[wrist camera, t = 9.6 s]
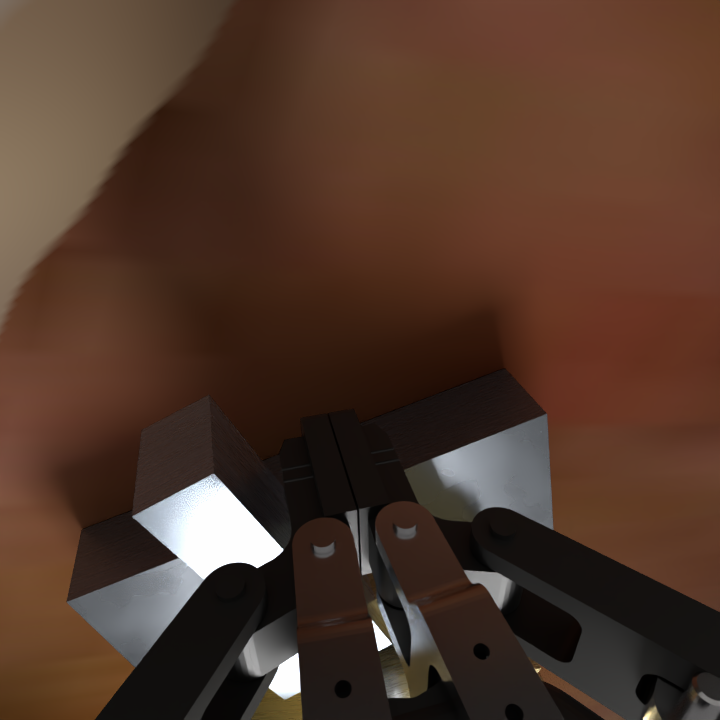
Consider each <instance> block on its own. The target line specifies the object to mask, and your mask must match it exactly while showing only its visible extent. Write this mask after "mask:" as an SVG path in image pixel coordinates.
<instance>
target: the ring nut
mask: <svg viewBox="0 0 720 720" xmlns="http://www.w3.org/2000/svg"><path fill="white" fill-rule="evenodd" d="M132 517H133V518H134V519H135V520H137V521H138V522H139V523H140V524H141V525H142V526H143V527H145V528H146V529H147V530H148V531H149V532H150V533H151V534H153V535H154V536H155V537H156V538H157V539H158V540H159V541H161V542H162V543H163V544H164V545H165V546H166V547H167V548H169V549H170V550H171V551H172V552H173V553H174V554H175V555H177V556H178V557H179V558H180V559H181V560H182V561H183V562H185V563H186V564H187V565H188V566H189V567H190V568H191V569H193V570H194V571H195V572H196V573H197V574H198V575H199V576H201V577H202V578H203V579H205V578H206V577H207V576H208V575H209V574H210V573H211V572H212V571H214V570H215V569H217V568H218V567H221V566H223V565H225V564H228V563H234V562H244V563H248V564H251V565H253V566H255V567H256V568H258V567H259V566H261V565H263V564H265V563H267V562H269V561H270V560H272V559H274V558H275V557H277V556H278V555H279V554H280V553H281V552H282V551H283V550H284V549H285V547H286V546H287V544H288V542H289V540H290V537H291V528H290V522H289V516H288V510H287V504H286V498H285V492H284V487H283V486H282V485H281V484H280V482H279V481H278V480H277V479H276V477H275V476H274V475H273V474H272V472H271V471H270V470H269V469H268V467H267V466H266V465H265V464H264V462H263V461H262V460H261V459H260V457H259V456H258V455H257V454H256V452H255V451H254V450H253V449H252V447H251V446H250V445H249V444H248V442H247V441H246V440H245V439H244V437H243V436H242V435H241V434H240V432H239V431H238V430H237V429H236V427H235V426H234V425H233V424H232V422H231V421H230V420H229V419H228V418H227V416H226V415H225V414H224V413H223V411H222V410H221V409H220V408H219V406H218V405H217V404H216V403H215V401H214V400H213V399H212V398H211V396H210V395H207V396H206V397H204V398H202V399H200V400H198V401H196V402H194V403H192V404H190V405H189V406H187V407H185V408H183V409H181V410H179V411H177V412H175V413H173V414H172V415H170V416H168V417H166V418H164V419H162V420H160V421H158V422H156V423H154V424H153V425H151V426H149V427H147V428H145V429H143V430H142V432H141V441H140V450H139V459H138V468H137V477H136V486H135V495H134V504H133V513H132ZM359 568H360V567H359ZM360 573H361V571H360ZM361 579H362V584H363V589H364V594H365V599H366V605H367V610H368V614H369V615H371V618H372V622H373V626H374V631H375V636H376V641H377V646H378V651H379V650H381V649H383V648H385V647H387V646H389V645H391V644H392V643H391V640H390V638H391V637H390V634H389V632H388V629H387V627H386V624H385V621H384V619H383V616H382V614H381V611H380V609H379V606H378V603H377V597H376V584H375V580H374V577H373V574H372V573H369V574H365V575H362V574H361ZM528 658H529V657H528ZM529 660H530V662H531V664H532V665H533V667H534V669H535V670H536V672H537V674H538V675H539V677H540V679H541V680H542V681H544V680H543V678H542V677H541V675H540V673H539V670H540V669H541V668H540V666H539V664H538V663H537V662H535V661H533V660H532V659H530V658H529ZM251 720H303V719H302V705H301V690H300V675H299V660H298V654H296V655H295V656H293V657H292V658H290V659H288V660H287V661H285V662H284V663H282V664H281V665H279V668H278V671H277V673H276V675H275V677H274V679H273V681H272V683H271V684H270V686H269V688H268V690H267V692H266V693H265V695H264V697H263V699H262V700H261V702H260V704H259V706H258V708H257V709H256V711H255V713H254V715H253V716H252V718H251Z"/></svg>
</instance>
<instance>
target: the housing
mask: <svg viewBox="0 0 720 720" xmlns="http://www.w3.org/2000/svg"><path fill="white" fill-rule="evenodd" d="M370 424H376V425H378V426H379V427H380V428H381V429H382V430H383V431H385V432H386V433H387V434H388V436H389V438H390V440H391V443H392V445H393V447H394V450H395V452H396V454H397V456H398V458H399V461H400V463H401V465H402V467H403V469H404V472H405V474H406V476H407V478H408V481H409V483H410V485H411V487H412V490H413V492H414V494H415V496H416V499H417V501H418V502H419V504H420V505H421V506H423V507H424V508H426V509H427V510H428V511H429V512H430V513H431V514H432V515H433V516H435V517H438V518H440V519H444V520H451V521H464V522H472V521H473V519H474V517H475V516H476V515H477V514H478V513H479V512H480V511H482V510H484V509H487V508H491V507H502V508H507V509H511V510H513V511H515V512H517V513H519V514H522V515H524V516H526V517H528V518H530V519H532V520H534V521H536V522H538V523H540V524H542V525H544V526H546V527H548V528H550V529H552V530H553V515H552V497H551V478H550V460H549V442H548V423H547V413H546V412H545V411H544V410H543V409H542V408H541V407H540V406H539V405H538V404H537V402H536V401H535V400H534V399H533V398H532V397H531V396H530V395H529V394H528V393H527V392H526V391H525V389H524V388H523V387H522V386H521V385H520V384H519V383H518V382H517V381H516V380H515V379H514V377H513V376H512V375H511V374H510V373H509V372H508V371H507V370H506V369H502V370H499V371H497V372H494V373H491V374H489V375H486V376H484V377H481V378H478V379H476V380H473V381H470V382H468V383H465V384H463V385H460V386H457V387H455V388H452V389H449V390H447V391H444V392H442V393H439V394H436V395H434V396H431V397H428V398H426V399H423V400H421V401H418V402H415V403H413V404H410V405H407V406H405V407H402V408H400V409H397V410H394V411H392V412H389V413H386V414H384V415H381V416H379V417H376V418H373V419H371V420H368V421H366V422H363V423H360V426H364V425H370ZM263 462H264V464H265V465H266V466H267V467H268V469H269V470H270V471H271V472H272V474H273V475H274V476H275V477H276V479H277V480H278V481H279V482H280V484H281V485H282V486H283V487H284V485H283V478H282V471H281V465H280V458H279V455H276V456H274V457H271V458H268V459H266V460H263ZM132 513H133V510H132V511H129V512H127V513H124V514H122V515H119V516H116V517H114V518H111V519H108V520H106V521H103V522H101V523H98V524H95V525H93V526H90V527H87V528H85V529H82V530H81V535H80V540H79V545H78V550H77V554H76V559H75V564H74V569H73V574H72V578H71V583H70V588H69V593H68V598H67V603H68V604H69V605H70V606H71V607H72V608H73V609H74V610H75V611H76V612H77V613H79V614H80V615H81V616H82V617H83V618H84V619H85V620H86V621H87V622H88V623H89V624H90V625H91V626H92V627H93V628H94V629H95V630H96V631H97V632H98V633H100V634H101V635H102V636H103V637H104V638H105V639H106V640H107V641H108V642H109V643H110V644H111V645H112V646H113V647H114V648H115V649H116V650H117V651H118V652H119V653H121V654H122V655H123V656H124V657H125V658H126V659H127V660H128V661H129V662H130V663H131V664H132V665H133V666H134V667H135V668H136V666H137V665H138V664H139V662H140V661H141V660H142V659H143V657H144V656H145V655H146V654H147V652H148V651H149V650H150V648H151V647H152V646H153V645H154V643H155V642H156V641H157V639H158V638H159V637H160V636H161V634H162V633H163V632H164V630H165V629H166V628H167V627H168V625H169V624H170V623H171V622H172V620H173V619H174V618H175V616H176V615H177V614H178V613H179V611H180V610H181V609H182V607H183V606H184V605H185V604H186V602H187V601H188V600H189V598H190V597H191V596H192V595H193V593H194V592H195V591H196V589H197V588H198V587H199V586H200V584H201V583H202V582H203V581H204V579H203V578H202V577H201V576H199V575H198V574H197V573H196V572H195V571H194V570H193V569H191V568H190V567H189V566H188V565H187V564H186V563H185V562H183V561H182V560H181V559H180V558H179V557H178V556H177V555H175V554H174V553H173V552H172V551H171V550H170V549H169V548H167V547H166V546H165V545H164V544H163V543H162V542H161V541H159V540H158V539H157V538H156V537H155V536H154V535H153V534H151V533H150V532H149V531H148V530H147V529H146V528H145V527H143V526H142V525H141V524H140V523H139V522H138V521H137V520H135V519H134V518H133V517H132ZM390 640H391V643H392V644H391V645H389V646H387V647H385V648H383V649H381V650H379V656H380V661H381V667H382V672H383V677H384V682H385V687H386V692H387V697H388V698H410V694H409V689H408V684H407V680H406V676H405V673H404V670H403V668H402V665H401V663H400V660H399V657H398V655H397V652H396V650H395V647H394V645H393V642H392V639H391V638H390Z"/></svg>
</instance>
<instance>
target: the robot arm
mask: <svg viewBox="0 0 720 720" xmlns="http://www.w3.org/2000/svg"><path fill="white" fill-rule="evenodd" d="M300 422H301V431H302V437H297V438H292V439H286V440H284V443H283V445H282V448H281V450H280V453H279V458H280V465H281V471H282V478H283V485H284V492H285V498H286V504H287V510H288V516H289V522H290V528H291V537H290V540H289V542H288V544H287V546H286V547H285V549H284V550H283V551H282V552H281V553H280V554H279V555H278V556H277V557H275V558H274V559H272V560H270V561H269V562H267V563H265V564H263V565H261V566H259V567H258V568H256V567H255V566H253V565H251V564H248V563H244V562H234V563H228V564H225V565H223V566H221V567H218V568H217V569H215V570H214V571H212V572H211V573H210V574H209V575H208V576H207V577H206V578H205V579H204V581H203V582H202V583H201V584H200V586H199V587H198V588H197V589H196V591H195V592H194V593H193V595H192V596H191V597H190V598H189V600H188V601H187V602H186V604H185V605H184V606H183V607H182V609H181V610H180V611H179V613H178V614H177V615H176V616H175V618H174V619H173V620H172V622H171V623H170V624H169V625H168V627H167V628H166V629H165V630H164V632H163V633H162V634H161V636H160V637H159V638H158V639H157V641H156V642H155V643H154V645H153V646H152V647H151V648H150V650H149V651H148V652H147V654H146V655H145V656H144V657H143V659H142V660H141V661H140V662H139V664H138V665H137V666H136V668H135V669H134V670H133V671H132V673H131V674H130V675H129V677H128V678H127V679H126V680H125V682H124V683H123V684H122V686H121V687H120V688H119V689H118V691H117V692H116V693H115V695H114V696H113V697H112V698H111V700H110V701H109V702H108V703H107V705H106V706H105V707H104V709H103V710H102V711H101V712H100V714H99V715H98V716H97V718H96V719H95V720H251V718H252V716H253V715H254V713H255V711H256V709H257V708H258V706H259V704H260V702H261V700H262V699H263V697H264V695H265V693H266V692H267V690H268V688H269V686H270V684H271V683H272V681H273V679H274V677H275V675H276V673H277V671H278V668H279V665H281V664H282V663H284V662H285V661H287V660H288V659H290V658H292V657H293V656H295V655H296V654H298V660H299V675H300V690H301V705H302V719H303V720H604V719H603V718H601V717H600V716H598V715H597V714H596V713H594V712H593V711H591V710H590V709H588V708H587V707H585V706H584V705H583V704H581V703H580V702H578V701H577V700H575V699H574V698H572V697H571V696H570V695H568V694H567V693H565V692H563V691H562V690H560V689H558V688H556V687H555V686H553V685H551V684H549V683H546V682H544V681H542V680H541V679H540V677H539V675H538V674H537V672H536V670H535V669H534V667H533V665H532V664H531V662H530V660H529V658H530V659H532V660H533V661H535V662H537V663H538V664H540V665H541V666H543V667H544V668H546V669H548V670H549V671H551V672H552V673H554V674H555V675H557V676H558V677H560V678H562V679H563V680H565V681H566V682H568V683H569V684H571V685H573V686H574V687H576V688H577V689H579V690H580V691H582V692H584V693H585V694H587V695H588V696H590V697H591V698H593V699H594V700H596V701H598V702H599V703H601V704H602V705H604V706H605V707H607V708H609V709H610V710H612V711H613V712H615V713H616V714H618V715H620V716H621V717H623V718H624V719H626V720H720V612H718V611H716V610H714V609H712V608H710V607H708V606H706V605H704V604H702V603H700V602H698V601H696V600H694V599H692V598H690V597H688V596H686V595H684V594H682V593H680V592H678V591H676V590H674V589H672V588H670V587H667V586H665V585H663V584H661V583H659V582H657V581H655V580H653V579H651V578H649V577H647V576H645V575H643V574H641V573H639V572H637V571H635V570H633V569H631V568H629V567H627V566H625V565H623V564H621V563H619V562H617V561H615V560H613V559H611V558H609V557H607V556H605V555H603V554H601V553H599V552H597V551H595V550H592V549H590V548H588V547H586V546H584V545H582V544H580V543H578V542H576V541H574V540H572V539H570V538H568V537H566V536H564V535H562V534H560V533H558V532H556V531H554V530H552V529H550V528H548V527H546V526H544V525H542V524H540V523H538V522H536V521H534V520H532V519H530V518H528V517H526V516H524V515H522V514H519V513H517V512H515V511H513V510H511V509H507V508H502V507H491V508H487V509H484V510H482V511H480V512H479V513H478V514H477V515H476V516H475V517H474V519H473V521H472V522H464V521H451V520H444V519H440V518H438V517H435V516H433V515H432V514H431V513H430V512H429V511H428V510H427V509H426V508H424V507H423V506H421V505H420V504H419V502H418V501H417V499H416V496H415V494H414V492H413V490H412V487H411V485H410V483H409V481H408V478H407V476H406V474H405V472H404V469H403V467H402V465H401V463H400V461H399V458H398V456H397V454H396V452H395V450H394V447H393V445H392V443H391V440H390V438H389V436H388V434H387V433H386V432H385V431H383V430H382V429H381V428H380V427H379V426H378V425H376V424H370V425H364V426H360V423H359V420H358V418H357V415H356V413H355V410H354V409H349V410H343V411H337V412H331V413H327V414H320V415H314V416H309V417H303V418H300ZM359 567H360V568H359ZM360 571H361V573H360ZM369 573H372V574H373V577H374V580H375V584H376V597H377V603H378V606H379V609H380V611H381V614H382V616H383V619H384V621H385V624H386V627H387V629H388V632H389V634H390V637H391V639H392V642H393V645H394V647H395V650H396V652H397V655H398V657H399V660H400V663H401V665H402V668H403V670H404V673H405V676H406V680H407V684H408V689H409V694H410V698H388V697H387V692H386V687H385V682H384V677H383V672H382V667H381V661H380V656H379V651H378V646H377V641H376V636H375V631H374V626H373V622H372V618H371V615H369V614H368V610H367V605H366V599H365V594H364V589H363V584H362V579H361V574H362V575H365V574H369ZM528 657H529V658H528Z"/></svg>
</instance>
